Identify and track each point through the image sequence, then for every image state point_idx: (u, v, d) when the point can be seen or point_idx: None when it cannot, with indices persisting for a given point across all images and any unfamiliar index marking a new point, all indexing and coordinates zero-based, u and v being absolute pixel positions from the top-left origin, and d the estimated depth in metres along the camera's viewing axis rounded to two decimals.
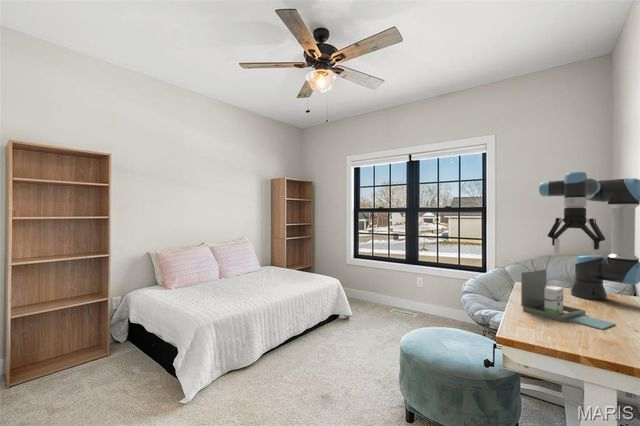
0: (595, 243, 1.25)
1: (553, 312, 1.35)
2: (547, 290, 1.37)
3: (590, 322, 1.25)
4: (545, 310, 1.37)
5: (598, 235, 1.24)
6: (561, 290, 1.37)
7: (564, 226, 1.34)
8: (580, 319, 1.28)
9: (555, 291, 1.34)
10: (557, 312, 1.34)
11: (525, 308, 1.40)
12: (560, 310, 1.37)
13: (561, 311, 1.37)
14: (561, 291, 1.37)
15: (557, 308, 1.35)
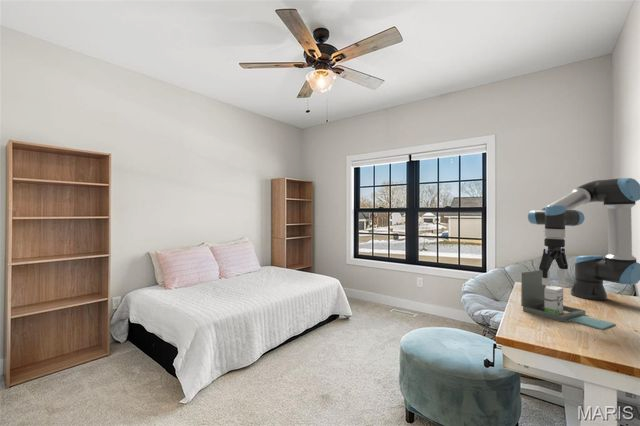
0: None
1: (553, 312, 1.35)
2: (547, 290, 1.37)
3: (590, 322, 1.25)
4: (545, 310, 1.37)
5: None
6: (561, 290, 1.37)
7: None
8: (580, 319, 1.28)
9: (555, 291, 1.34)
10: (557, 312, 1.34)
11: (525, 308, 1.40)
12: (560, 310, 1.37)
13: (561, 311, 1.37)
14: (561, 291, 1.37)
15: (557, 308, 1.35)
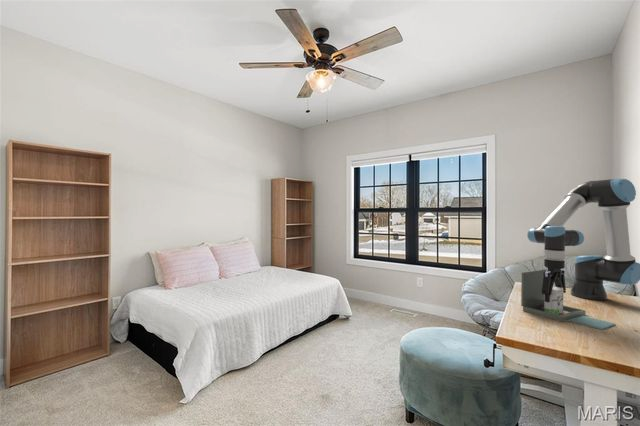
0: None
1: (553, 312, 1.35)
2: None
3: (590, 322, 1.25)
4: (545, 310, 1.37)
5: None
6: (561, 290, 1.37)
7: None
8: (580, 319, 1.28)
9: (555, 291, 1.34)
10: (557, 312, 1.34)
11: (525, 308, 1.40)
12: (560, 310, 1.37)
13: (561, 311, 1.37)
14: (561, 291, 1.37)
15: (557, 308, 1.35)
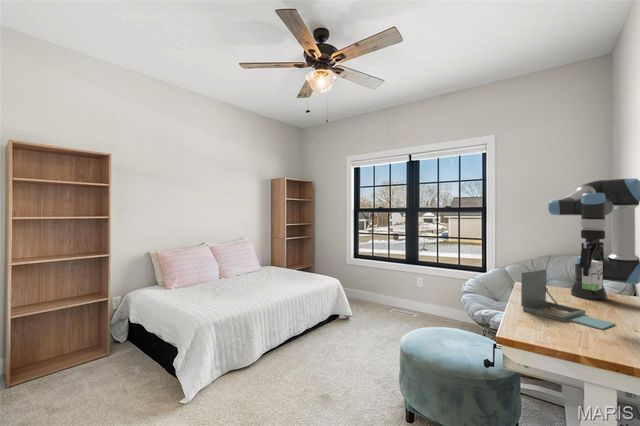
0: None
1: (592, 287, 1.22)
2: None
3: (590, 322, 1.25)
4: (583, 285, 1.25)
5: None
6: (601, 263, 1.25)
7: None
8: (580, 319, 1.28)
9: (595, 264, 1.22)
10: (597, 287, 1.22)
11: (525, 308, 1.40)
12: (600, 285, 1.24)
13: (600, 286, 1.25)
14: (601, 264, 1.25)
15: (597, 282, 1.22)
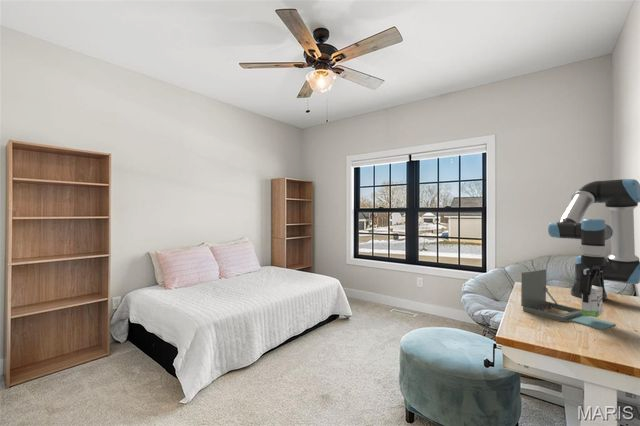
0: None
1: (592, 313, 1.22)
2: None
3: (590, 322, 1.25)
4: (583, 311, 1.25)
5: None
6: (600, 289, 1.25)
7: None
8: (580, 319, 1.28)
9: (595, 290, 1.22)
10: (596, 313, 1.22)
11: (525, 308, 1.40)
12: (599, 311, 1.24)
13: (600, 312, 1.25)
14: (600, 290, 1.25)
15: (597, 309, 1.22)
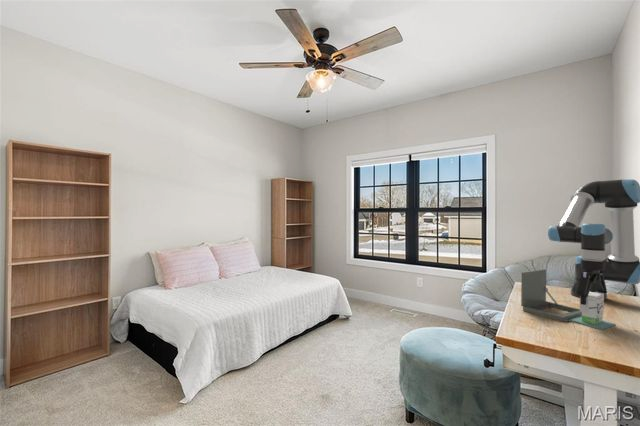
0: None
1: (592, 321, 1.22)
2: None
3: None
4: (583, 318, 1.25)
5: None
6: (601, 296, 1.25)
7: None
8: (580, 319, 1.28)
9: (595, 298, 1.22)
10: (596, 321, 1.22)
11: (525, 308, 1.40)
12: (600, 318, 1.24)
13: (601, 319, 1.25)
14: (601, 298, 1.25)
15: (597, 316, 1.22)
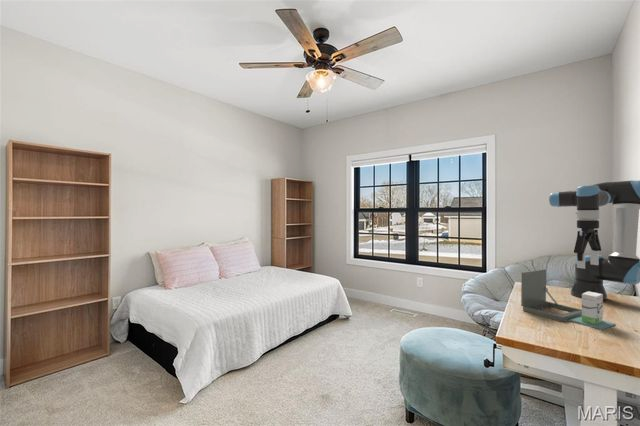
0: None
1: (592, 321, 1.22)
2: (585, 296, 1.24)
3: None
4: (583, 318, 1.25)
5: None
6: (601, 296, 1.25)
7: None
8: (580, 319, 1.28)
9: (595, 298, 1.22)
10: (596, 321, 1.22)
11: (525, 308, 1.40)
12: (600, 318, 1.24)
13: (601, 319, 1.25)
14: (601, 298, 1.25)
15: (597, 316, 1.22)
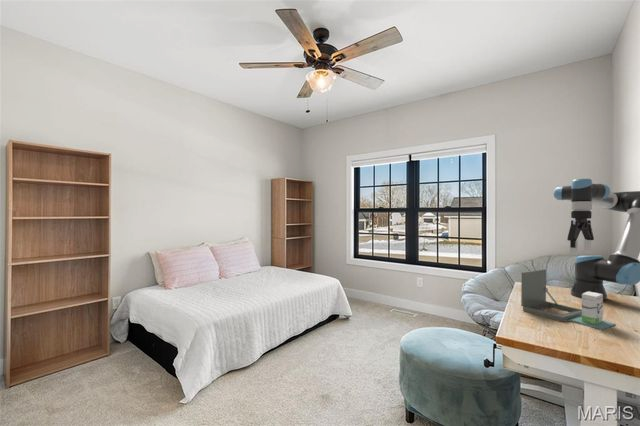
0: None
1: (592, 321, 1.22)
2: (585, 296, 1.24)
3: None
4: (583, 318, 1.25)
5: None
6: (601, 296, 1.25)
7: None
8: (580, 319, 1.28)
9: (595, 298, 1.22)
10: (596, 321, 1.22)
11: (525, 308, 1.40)
12: (600, 318, 1.24)
13: (601, 319, 1.25)
14: (601, 298, 1.25)
15: (597, 316, 1.22)
